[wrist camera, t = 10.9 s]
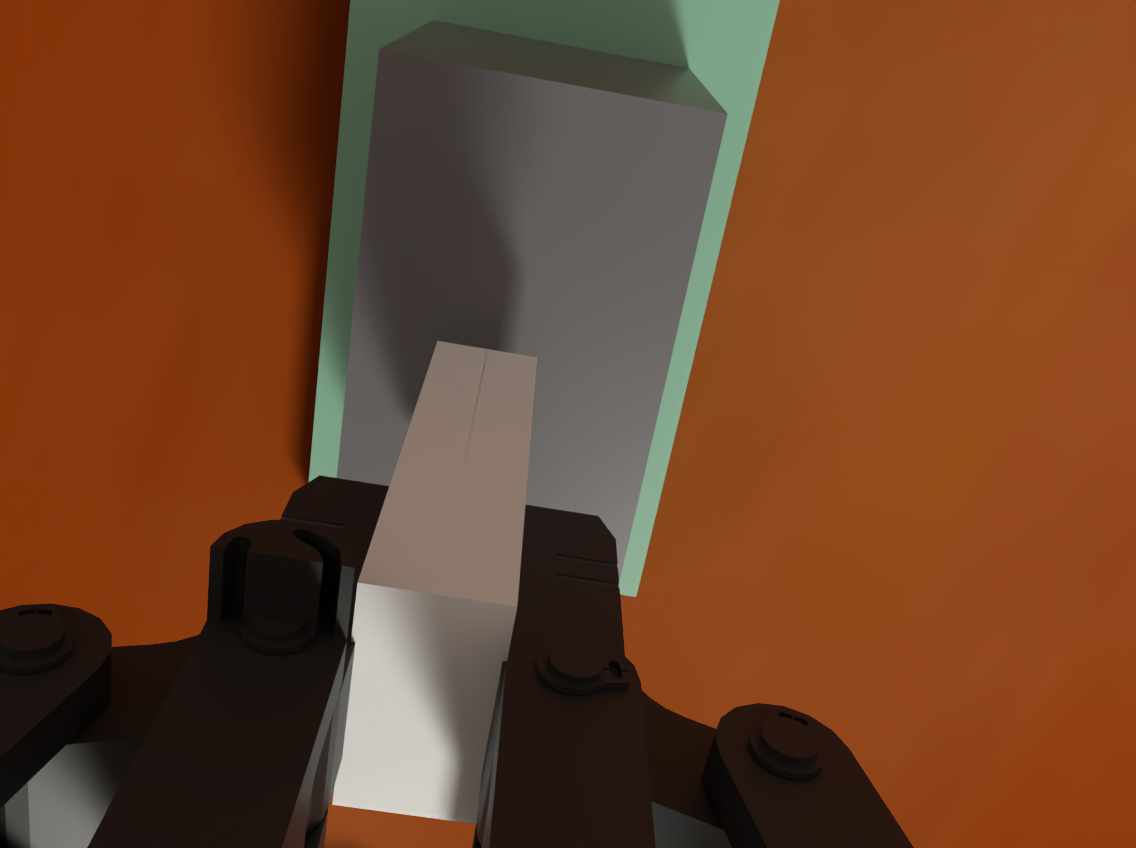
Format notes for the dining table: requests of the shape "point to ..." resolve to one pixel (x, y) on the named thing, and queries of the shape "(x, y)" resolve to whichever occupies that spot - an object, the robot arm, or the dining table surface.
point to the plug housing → (529, 247)
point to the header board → (575, 18)
